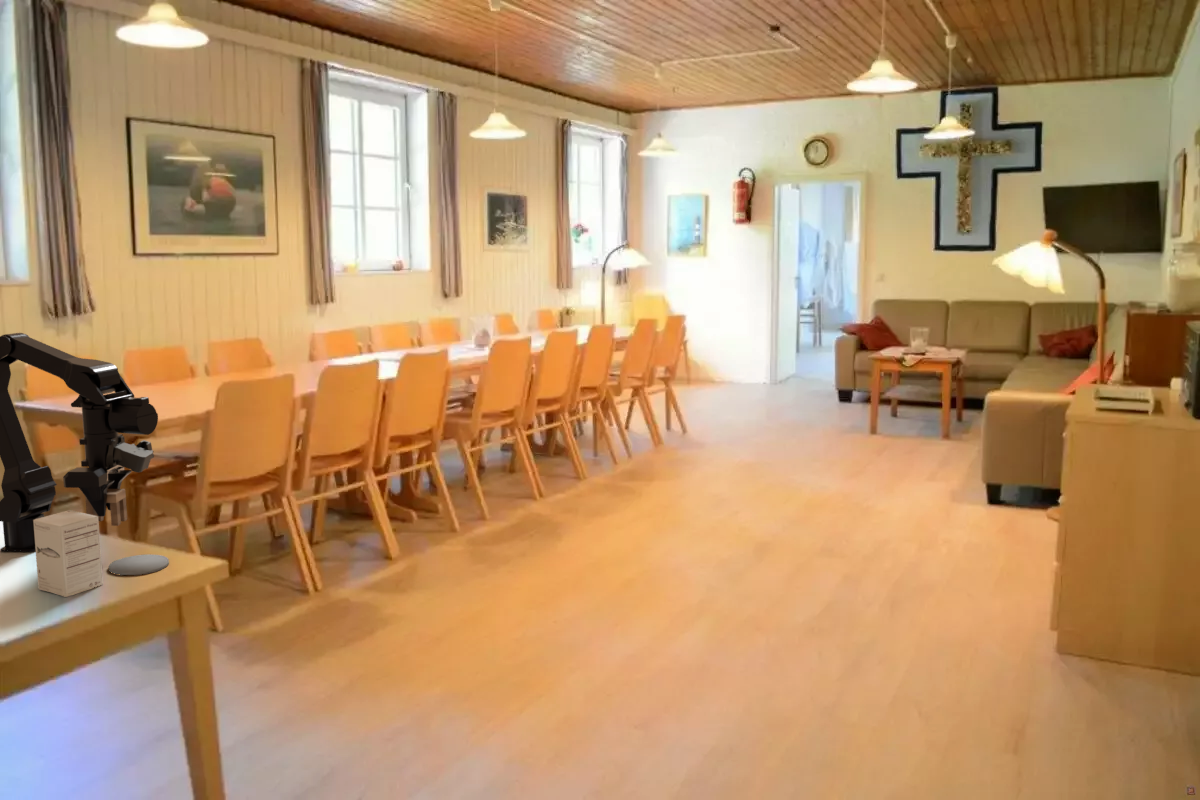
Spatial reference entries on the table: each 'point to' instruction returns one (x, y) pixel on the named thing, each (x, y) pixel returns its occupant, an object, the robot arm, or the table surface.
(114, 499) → the walnut stool
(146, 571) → the slate mat
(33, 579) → the table surface
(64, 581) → the supplement box
